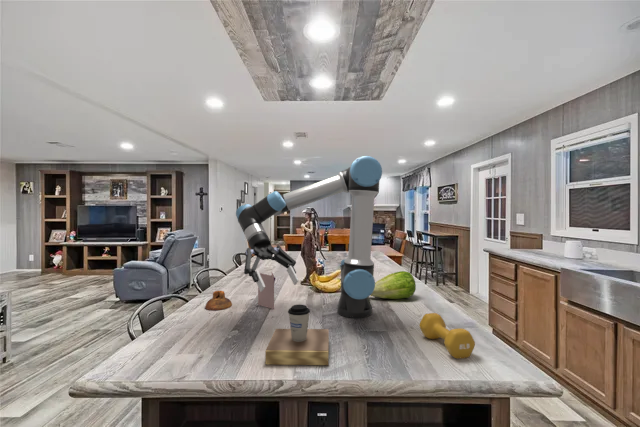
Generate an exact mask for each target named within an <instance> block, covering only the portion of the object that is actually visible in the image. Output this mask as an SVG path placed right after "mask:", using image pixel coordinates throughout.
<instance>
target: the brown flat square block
mask: <svg viewBox="0 0 640 427" xmlns="http://www.w3.org/2000/svg"><path fill="white" fill-rule="evenodd" d="M329 332H330V330H329V328H308V329H307V339H306V340H305V341H302V342H296V341H293V340H292V336H291V328H275V329H274V331H273V334H272V336H271V338H270V341H269V342H268V345H267V347H266V348H265V354H264V355H265V356H264V358H265V365H270V366H271V365H273V366H274V365H276V366H277V365H280V366H281V365H283V366H284V365H285V366H286V365H287V366H291V365H292V366H329V356H330V355H329V354H330V353H329V346H330V345H329V344H330V341H329V339H330V337H329V336H330V333H329Z"/></svg>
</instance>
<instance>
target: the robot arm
mask: <svg viewBox="0 0 640 427" xmlns="http://www.w3.org/2000/svg"><path fill="white" fill-rule="evenodd" d="M382 176H383V168H382V165H381V163H380V162H379V160H377V159H376V158H375V157H373V156H369V155H363V156H359V157H357V158H356V159H354V161H353V162H352V163H351V165H350V166H349V167H348V168H346V169H344V170H340V171H339V172H338V173H337V175H334V176H331V177H328V178H326V179H322V180H320V181H318V182H315V183H311V184H308V185H305V186H303V187H300V188H297V189H294V190H292V191H288V192H287V193H283V194H281V193H280V192H279V191H277V190H275V191H272V192H271V193H269V194H268V195H267V196H265V197H264V198H262V199H261V200H259V201H258V202H257V203H255V204H253V205H251V204H248V203H247V204H246V203H245V204H244V205H243V204H242V205H240V206H239V207H238V208H237V209H236V212H235V216H236V219H237V223H238V224H239V225H240V228H241V230H242V233H243V234H244V236H245V239H246V241H247V243H248V245H249V247H247V248H246V250H245V252H244V254H245V264H244V270H243V273H244V275H248V276H249V277H251V278H252V280H253V282H254V283H256V285H257V287H259V290H260V292H262V291H263V290H264V288H265V284H264V282H263V280H262V278H261V276H260V273H261V272H260V271H259V270H258V269H257V268H258V266H259V262H260V261H261V260H262V261H266V260H271V261H274V262H276V263H277V264H279V265H281V266H283V267H284V268H286V272H287V274H288V276H289V278H290V280H291V282H292V284H293V285H294V286H295V285H297V284H298V283H299V281H300V279H299V278H298V275H297V271H296V269H295V266H296V264H297V261H296V260H295V259H294V258H292V257H291V256H290V254H287V253H286V252H285V250H283V249H282V247H281V245H279V244H278V245H276V246H275V247H273V246H272V243H271V242H272V241H271V240H270V239H271V238H269V236H268V234H267V232H266V230H265V228H264V225H263V224H262V223H263V222H265V221H267V220H268V219H269V218H271V217H273V216H279V215H282V214H284V213H286V212H289V211H291V210H292V211H293V210H295V209H298V208H300V207H304V206H306V205H309V204H311V203H315V202H317V201H321V200H323V199H326V198H329V197H332V196H335V195H338V194H341V193H346V194H348V193H349V194H350V195H351V207H350V208H351V209H350V222H349V223H350V224H349V227H350V228H349V240H348V241H349V242H348V256H347V257H346V258H345V259H341V261H340V296H339V300H338V303H337V305H336V312H337V314H338V315H340V316H342V317H346V318H351V319H354V318H355V319H359V318H367V317H369V316H371V315H372V314H373V307H372V306H373V305H372V303H371V301H370V296H371V294H372V292H373V291H374V288H375V283H376V280H375V277H374V274H375V270H374V269H375V263H374V261H373V260H372V259H371V256H372V255H371V254H372V242H373V241H372V240H373V239H372V238H373V224H374V212H375V211H374V208H375V207H374V206H375V197H376V196H377V195H378V194H379V192H380V190H379V189H380V180H381V178H382ZM252 255H254V256H255V257H256V258H255V261H254V263H253V264H252V267H251V262H252Z"/></svg>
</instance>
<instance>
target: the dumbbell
mask: <svg viewBox="0 0 640 427" xmlns="http://www.w3.org/2000/svg"><path fill="white" fill-rule="evenodd" d="M419 330H420V331H421V333H422V335H423V336H424V337H425V338H427V339H429V340H435V339H440V338H441V339H442V340H444V341H443V344H444V346H445V349H446V350H447V352H448V354H449V355H450V356H451V357H453V358H454V359H458V360H459V359H460V360H461V359H467V358H469V357H470V356H471V355H472V353H473V351H474V349H475V346H476V342H475V340H474V337H473V336H472V334H471V333H470V331H469V330H467V329H465V328H452V329H448V328H447V324H446V323H445V320H444V319H443V318H442V316H441V314H438V312H437V313H435V312H430V313H425V314H424V315H423V316H422V318H421V320H420V322H419Z"/></svg>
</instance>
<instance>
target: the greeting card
mask: <svg viewBox="0 0 640 427" xmlns="http://www.w3.org/2000/svg"><path fill="white" fill-rule="evenodd" d="M259 273H260V276H261V278H262V280H263V282H264V284H265V288H264V290H263V291H262V292H260V290H259V287H258V286H257V287H258V288H257V294H258V295H257V304H258V306H262V307H266V308H268V309H272V310H275V281H276V277H275V276H274V273H273V272H271V274H265V273H263V272H262V273H261V272H259Z"/></svg>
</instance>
